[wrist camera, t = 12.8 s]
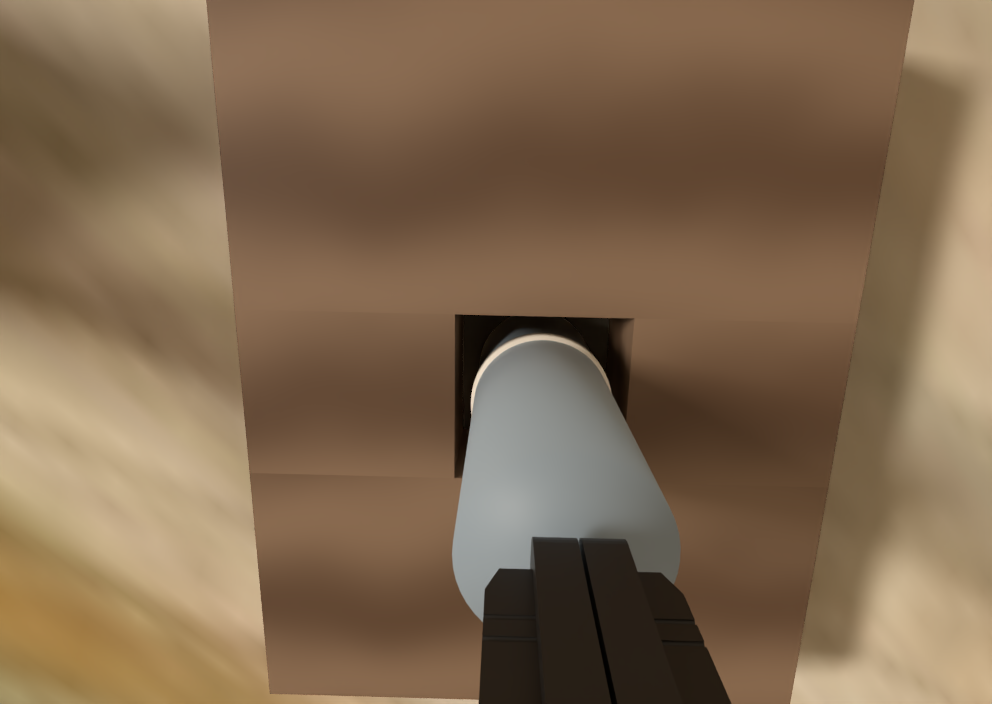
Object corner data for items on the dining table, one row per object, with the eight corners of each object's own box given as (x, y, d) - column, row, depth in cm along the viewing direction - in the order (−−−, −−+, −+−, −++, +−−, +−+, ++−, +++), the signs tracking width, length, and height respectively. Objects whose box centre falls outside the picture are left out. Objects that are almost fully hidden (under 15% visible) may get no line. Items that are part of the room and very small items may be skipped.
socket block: (264, 25, 20) (205, -15, 16) (833, 35, 19) (914, -2, 16) (305, 616, 25) (269, 693, 21) (745, 628, 25) (788, 708, 21)
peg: (477, 306, 22) (446, 443, 10) (596, 309, 22) (698, 449, 10) (476, 418, 23) (446, 654, 11) (589, 420, 23) (674, 660, 11)
